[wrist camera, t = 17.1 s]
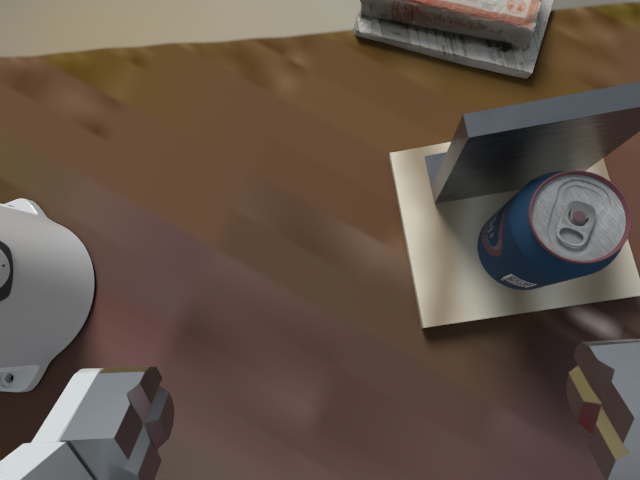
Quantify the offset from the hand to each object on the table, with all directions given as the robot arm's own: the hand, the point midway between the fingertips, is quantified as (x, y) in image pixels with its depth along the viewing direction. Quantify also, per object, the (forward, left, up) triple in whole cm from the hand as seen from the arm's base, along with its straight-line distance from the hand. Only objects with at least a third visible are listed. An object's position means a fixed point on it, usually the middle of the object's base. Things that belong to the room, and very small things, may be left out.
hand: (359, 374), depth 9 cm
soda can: (+14, +6, -30) cm, 34 cm away
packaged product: (+14, +30, -32) cm, 46 cm away
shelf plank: (+14, +8, -31) cm, 35 cm away
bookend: (+14, +13, -30) cm, 35 cm away
